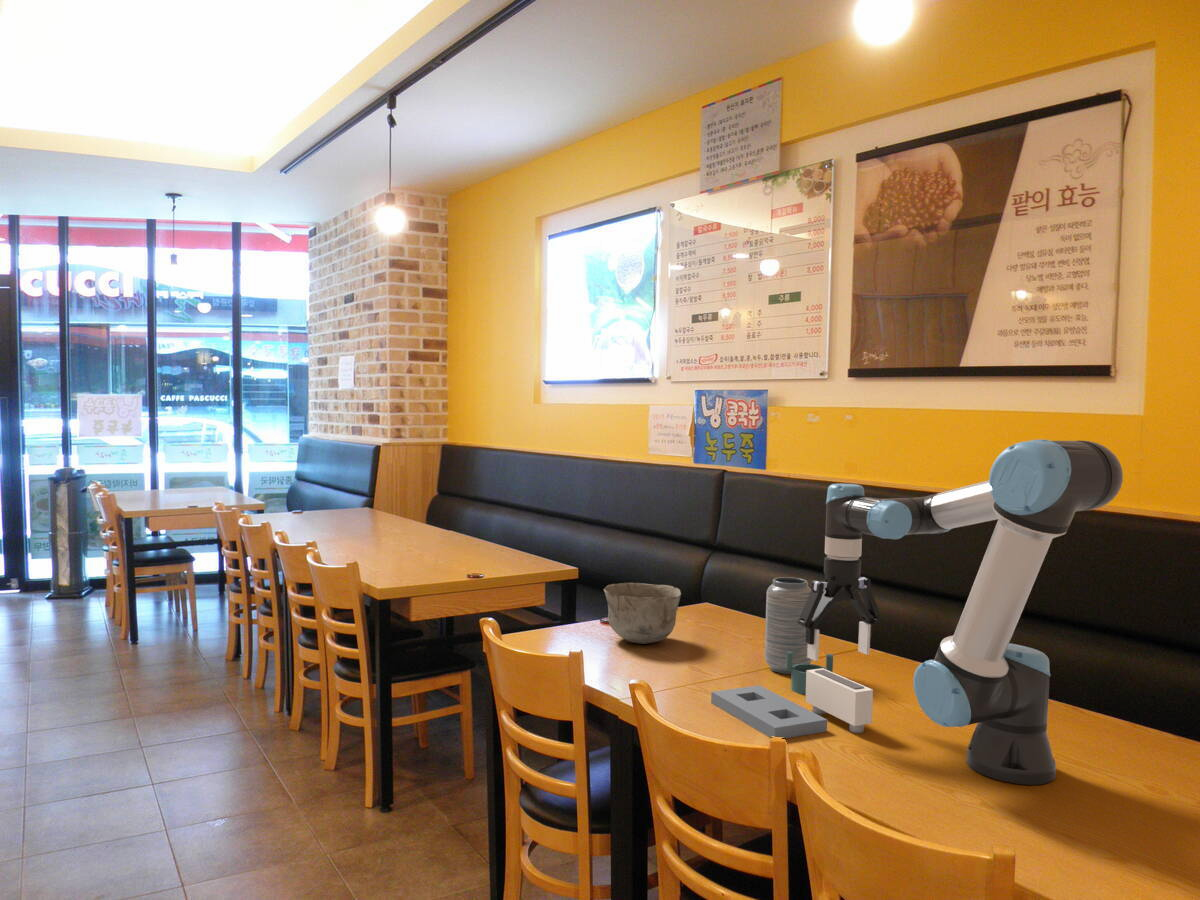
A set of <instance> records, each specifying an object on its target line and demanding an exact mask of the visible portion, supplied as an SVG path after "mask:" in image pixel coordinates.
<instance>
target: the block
mask: <svg viewBox="0 0 1200 900" xmlns="http://www.w3.org/2000/svg"><path fill="white" fill-rule="evenodd" d="M873 699H874V689H873V688H870V687H868V686H865V685H864V684H861V683H858V682H856V681H853V680H851V679H848V678H847V677H845V676H843V675H840V674H837V673H835V672H831V671H828V670H826V669H824V668H821V669H813V670H806V695H805V701H804V702H805V703H807V704H810V705H812V712H813V713H815V714H817V715H819V716H822V715H826V713H827V714H829V715H832V716H834V717H835V718H837V719H840V720H841V721H843V722H845V723H847V724H849V725H848V726H849V727H848V728H849V732H851V733H853V734H863V733H864V730H865V729H864V728H865V727H864V726H865V725H870V724H872V723H873V704H874V702H873V701H874V700H873Z"/></svg>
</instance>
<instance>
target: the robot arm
mask: <svg viewBox="0 0 1200 900" xmlns="http://www.w3.org/2000/svg"><path fill="white" fill-rule="evenodd" d="M1123 479H1124V473H1123V467H1122V465H1121V462H1120V460H1119V458H1117V456H1116V455H1115V454H1114V453H1113V452H1112V451H1111V449H1108V448H1107V447H1106V446H1104V445H1102V444H1101V443H1098V442H1094V441H1090V440H1049V439H1041V438H1040V439H1032V440H1029V441H1028V440H1025V441H1021V442H1017V443H1015V444H1013V445H1012V444H1011V445H1009V446H1008V447H1006V448H1005V449H1003V451H1002V452H1001V453H999V455H998V456H997V457H996V458H995V460H994V462H993V464H992V466H991V468H990V471H989V478H988V480H985V481H980V482H978V483H973V484H969V485H964V486H962V487H961V486H960V487H958V488H953V489H950V490H945V491H942V492H939V493H933V494H930V495H927V496H926V495H925V496H922V497H921V496H920V497H901V498H899V497H897V498H895V497H893V498H891V497H890V498H876V497H869V496H865V495H866V494H865V489H864V487H863V486H862V485H861V484H855V483H832V484H830V485H829V486H828V487H827V492H826V493H827V494H826V501H825V506H826V507H825V530H824V531H825V535H824V554H825V555H826V556H825V557H824V558H823V573H824V577H825V579H824V581H818V580H815V579H814V580H812V582H811V588H810V589H811V592H810V594H809V597H808V599H807V601H806V603H805V606H804V608H803V610H802V613H801V615H800V617H799V620H798V624H799V625H801V626H804V627H805V628H806V638H805V641H806V643H808V649H807V658H810V659H811V661H812V660H813V661H815V662H817V661H819V651H820V650H819V648H820V647H819V646H820V629H819V628H818V626H819V625H820V623H821V622H822V620H823V619H824V617H825V616H826V614H827V613H828V612H829V610H830V609H831V607H832V606H834V605H835V604H836V603H837V602H838V603H842V602H843V601H845V602H850V603H851V606H853V608H854V610H855V611H856V612H857V614H858V615H859V617H860V618H861V620H862V621H859V622H858V640H857V641H858V643H857V648H858V649H857V651H858V652H859V653H862V654H864V655H867V656H868V655H870V648H871V638H872V637H873V625H876V624H877V622H878V621H880V620H881V619H882V614H881V612H880V609H879V608H878V604H877V602H876V599H875V596H874V594H873V590H872V584H871V583H872V581H871V579H870V578H868V577H865V576H861V571H862V570H861V569H862V567H861V566H862V560H861V558H860V557H861V556H862V553H863V551H862V550H863V549H862V547H863V545H862V544H863V543H862V542H863V534H865V535H868V536H874V537H878V538H880V539H884V540H885V539H889V540H899V539H902V538H903V537H904V536H908V535H909V536H910V535H922V534H923V535H926V534H930V535H934V534H935V535H936V534H942V533H946V532H949V531H950V530H952V529H955V528H961V527H966V526H971V525H976V524H980V523H985V522H986V523H987V522H992V521H995V520H997V522H996V524H995V527H994V529H993V533H992V535H991V537H990V541H989V543H988V545H987V548H986V551H985V553H984V556H983V557H982V558H983V559H982V561H981V563H980V566H979V569H978V571H977V574H976V576H975V579H974V582H973V585H972V586H971V590H970V592H969V595H968V597H967V600H966V602H965V605H964V608H963V611H962V613H961V615H960V618H959V621H958V623H957V625H956V628H955V631H954V634H953V635H949V636H947V637H943V639H942V640H941V642H940V643H939V646H938V648H937V651H936V653H935V656H934V658H933V659H928V660H925V661H924V662H921V663H920V664H919V665H918V666H917V667H916V669H915V672H914V674H913V683H912V684H913V691H914V695H915V697H916V699H917V703H918V705H919V707H920V708H921V710H922V711H923V713H924V714H925V716H927V718H928V719H930V720H931V721H932V722H933V723H935V724H936V725H939V726H941V727H945V728H954V727H955V728H956V727H957V728H963V727H966V726H969V725H974V724H976V725H975V729H974V731H973V734H972V736H971V737H970V741H969V744H968V746H967V748H966V764H967V765H968V767H970V768H971V769H972V770H973V771H975V772H977V773H978V774H981V775H982V776H986V777H988V778H991V779H994V780H997V781H1000V782H1006V783H1009V784H1010V783H1011V784H1017V785H1018V784H1019V785H1029V786H1030V785H1038V786H1039V785H1044V784H1049V783H1051V782H1053V781H1054V780H1055V779H1056V774H1057V773H1056V772H1057V763H1056V760H1055V758H1054V756H1053V751H1052V747H1051V744H1050V740H1049V737H1048V713H1049V694H1050V693H1049V692H1050V677H1051V671H1050V659H1049V657H1048V656H1047V655H1046V654H1045V653H1044V652H1043V651H1041V650H1038V649H1035V648H1032V647H1029V646H1025V645H1020V644H1015V643H1010V641H1011V639H1012V637H1013V635H1014V632H1015V629H1016V628H1017V625H1018V623H1019V620H1020V618H1021V615H1022V613H1023V611H1024V609H1025V605H1026V604H1027V602H1028V598H1029V596H1030V594H1031V591H1032V589H1033V586H1034V584H1035V582H1036V579H1037V577H1038V574H1039V572H1040V570H1041V567H1042V565H1043V562H1044V561H1045V557H1046V555H1047V554H1048V552H1049V551H1048V550H1049V548H1050V545H1051V543H1052V542H1053V539H1055V538H1057V537H1061V536H1063V535H1066V534H1067V532H1068V529H1069V527H1070V525H1071V524H1072V523H1071V522H1072V520H1073V519H1074V516H1075V513H1076V512H1086V511H1093V510H1096V509H1099V508H1102V507H1104V506H1106V505H1108V504H1110V503H1111V502H1112V501H1113V500H1114V499H1115V498H1116V496H1118V494H1119V492H1120V490H1121V488H1122V484H1123V482H1124V480H1123ZM858 589H859V592H860V594H859V592H858V591H857V590H858ZM860 595H861V596H860Z"/></svg>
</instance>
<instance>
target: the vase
mask: <svg viewBox="0 0 1200 900" xmlns="http://www.w3.org/2000/svg"><path fill="white" fill-rule="evenodd" d="M810 592H811V588H810V586H809V582H808V581H807V580H806V579H803V578H798V577H789V576H786V577H785V576H781V577H780V576H779V577H775V578H773V579H772V584H770V585H769V586H768V588H767V590H766V602H765V634H764V635H765V640H764V659H765V662H766V664H767V665H768V666H769V669H770V670H771V671H773V672H776V673H779V674H783V675H792V672H790V671H788V670H787V668H786V662H787V651H791V652H793V660H792V666H793V665H796V664H812V659H810V658H807V649H808V643H806V641H805V638H806V628H805V627H804V626H801V625H799V624H798V620H799V617H800V615H801V613H802V610H803V608H804V606H805V603H806V601H807V599H808V597H809V594H810Z"/></svg>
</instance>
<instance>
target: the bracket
mask: <svg viewBox="0 0 1200 900" xmlns="http://www.w3.org/2000/svg"><path fill="white" fill-rule="evenodd" d="M792 660H793V652H791V651H787V662H786V668H787V670H788V671H790V672H792V674H790V675H791V679H790V680H791V681H790V682H791V683H790V689H791V691H792V692H794V693H796V694H799V695H805V696H806V670H813V669H821V668H824V669H826V670H828V671H831V672H833V671H834V654H832V653H826V655H825V666H823V665H818V664H814V663H813V664H812V663H810V664H796V665H793V666H792ZM833 673H834V672H833Z"/></svg>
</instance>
